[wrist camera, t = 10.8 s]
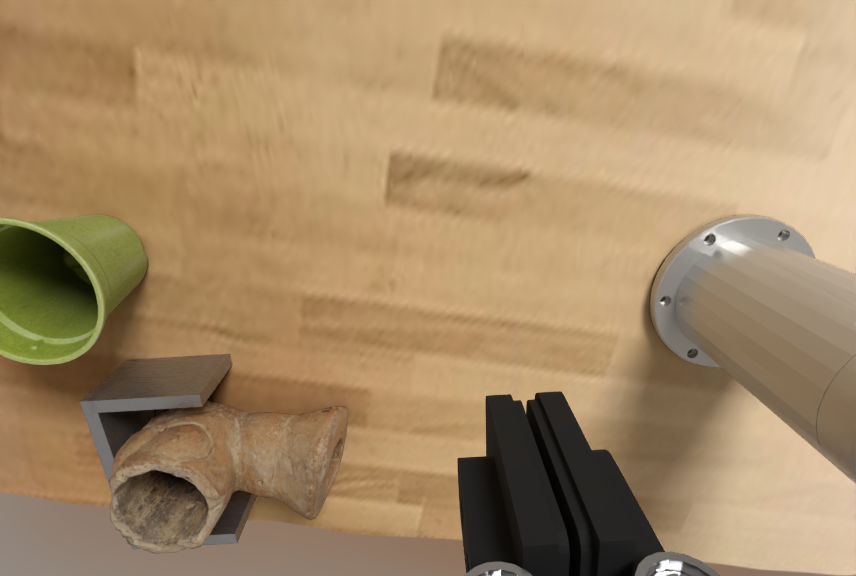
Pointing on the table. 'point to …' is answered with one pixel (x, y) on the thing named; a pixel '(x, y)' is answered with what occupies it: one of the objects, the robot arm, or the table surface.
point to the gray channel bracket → (134, 407)
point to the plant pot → (63, 284)
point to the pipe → (219, 469)
